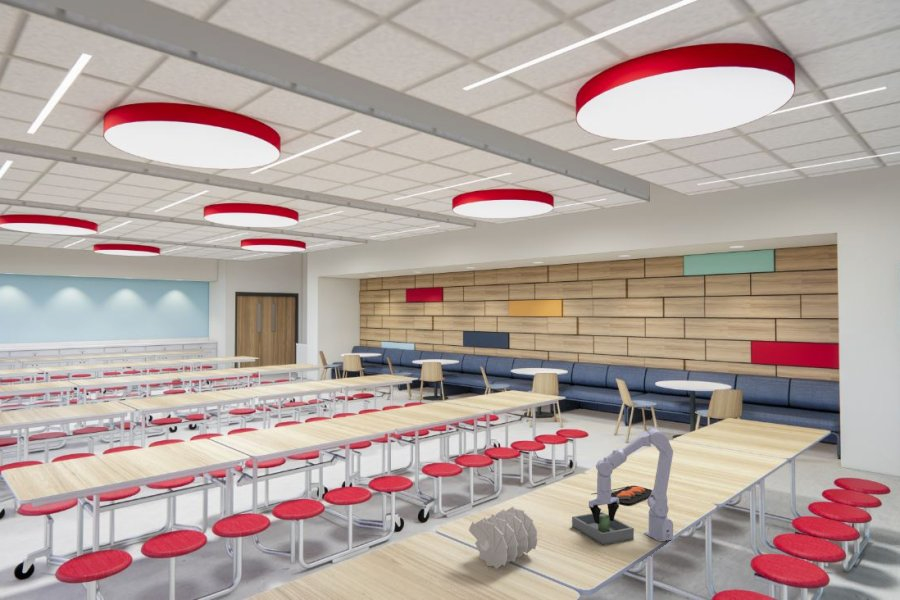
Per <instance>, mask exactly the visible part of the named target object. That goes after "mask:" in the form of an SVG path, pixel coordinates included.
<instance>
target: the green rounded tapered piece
mask: <svg viewBox="0 0 900 600" xmlns="http://www.w3.org/2000/svg"><path fill="white" fill-rule="evenodd" d="M605 514H606V513H605ZM605 514H600V516H599V524H598V530H599V531H600V532H602V533H605V532H610V517H609V516H608V514H607V515H605Z"/></svg>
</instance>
